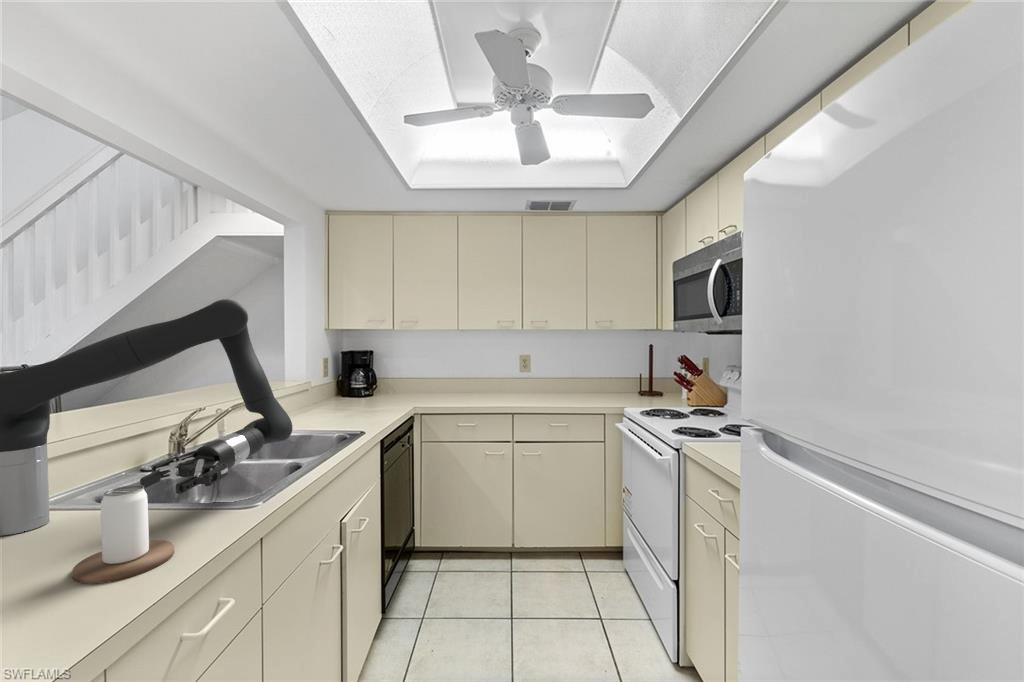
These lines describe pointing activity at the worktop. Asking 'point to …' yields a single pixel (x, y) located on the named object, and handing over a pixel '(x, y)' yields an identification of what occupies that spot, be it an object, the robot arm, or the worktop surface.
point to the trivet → (99, 571)
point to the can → (124, 524)
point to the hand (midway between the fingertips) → (159, 486)
